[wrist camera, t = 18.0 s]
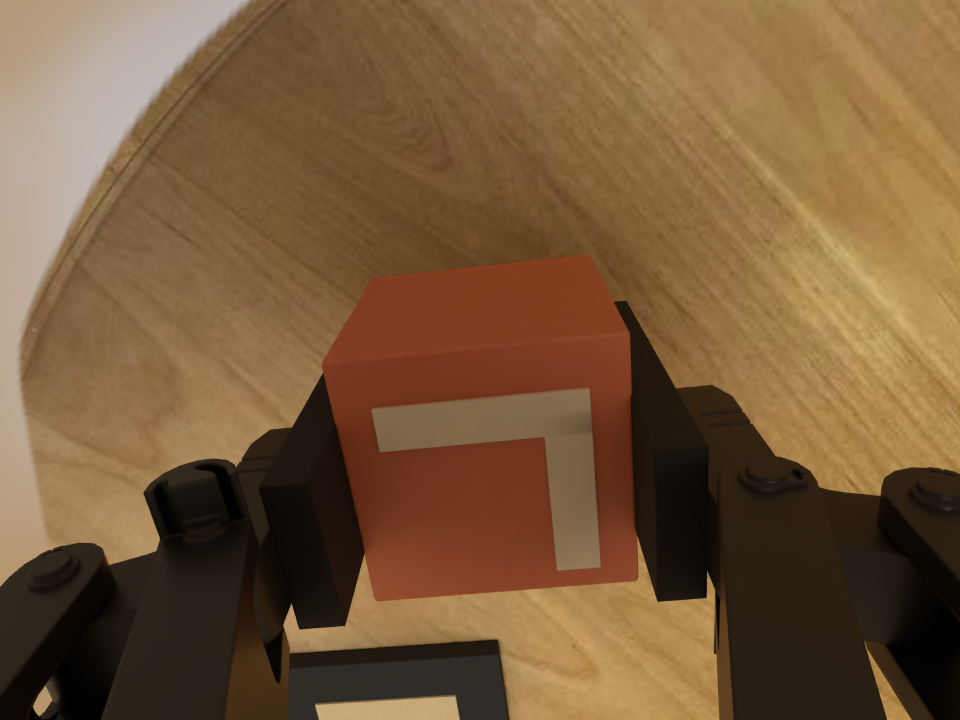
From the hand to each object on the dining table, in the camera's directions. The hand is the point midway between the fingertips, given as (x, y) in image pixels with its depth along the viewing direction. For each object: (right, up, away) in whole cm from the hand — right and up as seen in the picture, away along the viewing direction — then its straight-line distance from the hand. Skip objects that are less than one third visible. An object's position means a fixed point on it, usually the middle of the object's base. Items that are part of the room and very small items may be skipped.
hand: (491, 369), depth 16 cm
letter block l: (0, 0, 0) cm, 0 cm away
